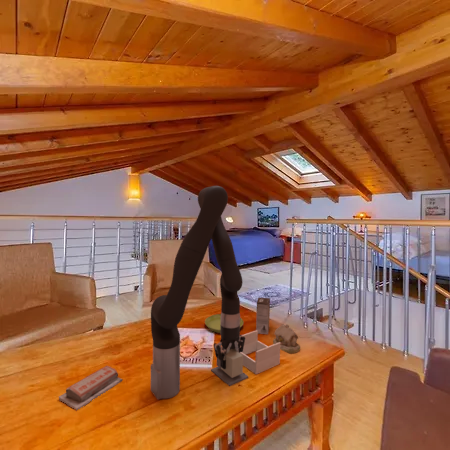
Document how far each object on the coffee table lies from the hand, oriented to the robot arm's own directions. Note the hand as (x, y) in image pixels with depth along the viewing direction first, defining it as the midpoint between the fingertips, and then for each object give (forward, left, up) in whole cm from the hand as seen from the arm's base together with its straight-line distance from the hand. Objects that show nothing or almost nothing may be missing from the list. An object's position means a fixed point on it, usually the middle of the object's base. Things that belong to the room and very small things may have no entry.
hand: (229, 365), depth 112 cm
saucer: (+24, +36, -4) cm, 43 cm away
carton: (+15, +1, -3) cm, 15 cm away
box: (0, 0, -1) cm, 1 cm away
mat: (0, 0, -3) cm, 3 cm away
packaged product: (-45, +20, -4) cm, 50 cm away
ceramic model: (+36, +3, -4) cm, 36 cm away
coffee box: (+38, +21, -4) cm, 44 cm away
